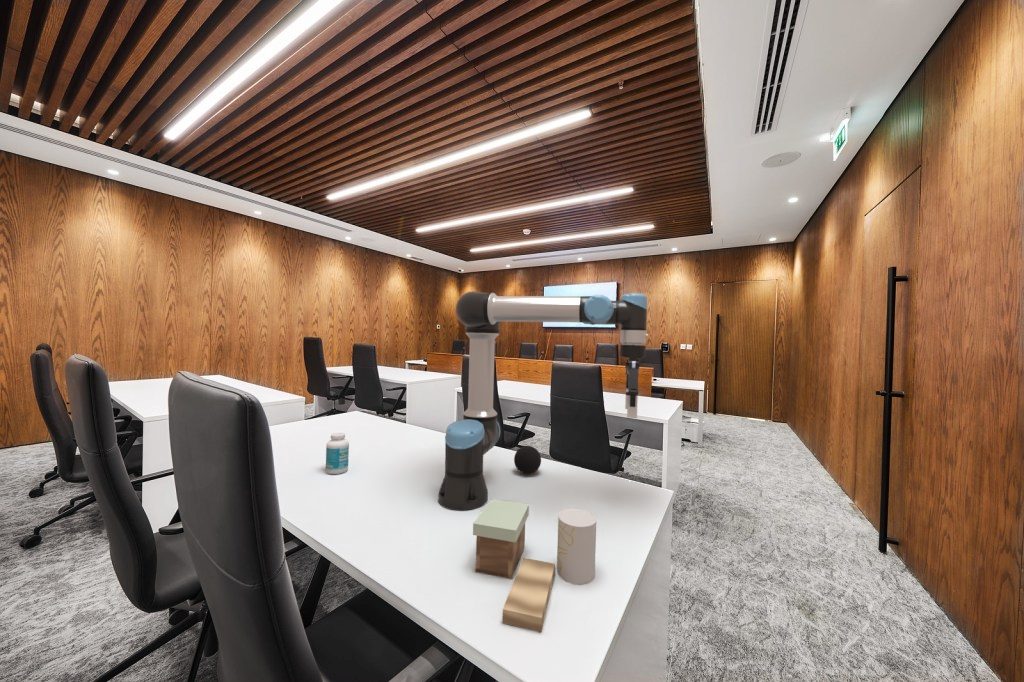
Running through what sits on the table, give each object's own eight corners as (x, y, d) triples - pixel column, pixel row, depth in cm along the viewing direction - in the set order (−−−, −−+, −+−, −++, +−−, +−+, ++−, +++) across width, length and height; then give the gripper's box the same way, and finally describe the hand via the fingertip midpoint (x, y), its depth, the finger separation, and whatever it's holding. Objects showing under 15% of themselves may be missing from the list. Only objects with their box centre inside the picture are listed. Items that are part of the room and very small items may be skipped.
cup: (553, 561, 85) (555, 508, 84) (588, 560, 85) (590, 508, 85) (561, 585, 77) (562, 527, 76) (599, 583, 77) (601, 526, 77)
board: (541, 632, 64) (541, 617, 64) (502, 623, 66) (502, 609, 66) (554, 575, 80) (555, 563, 80) (522, 569, 81) (523, 557, 81)
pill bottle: (342, 475, 131) (343, 437, 131) (321, 474, 131) (322, 436, 131) (351, 468, 139) (352, 432, 139) (332, 467, 139) (332, 431, 139)
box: (511, 579, 78) (512, 541, 78) (475, 571, 80) (476, 535, 80) (524, 547, 90) (525, 514, 89) (492, 542, 92) (493, 510, 91)
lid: (515, 546, 77) (516, 530, 77) (472, 538, 80) (473, 523, 80) (528, 518, 89) (528, 504, 89) (490, 512, 92) (491, 499, 92)
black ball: (523, 466, 145) (524, 441, 145) (545, 472, 140) (546, 446, 139) (508, 473, 137) (509, 446, 137) (531, 480, 132) (532, 452, 131)
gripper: (649, 345, 102) (647, 423, 102) (642, 344, 126) (640, 406, 126) (621, 344, 103) (618, 420, 104) (619, 343, 128) (617, 405, 128)
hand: (630, 413), depth 115 cm, fingers open, 13 cm apart
